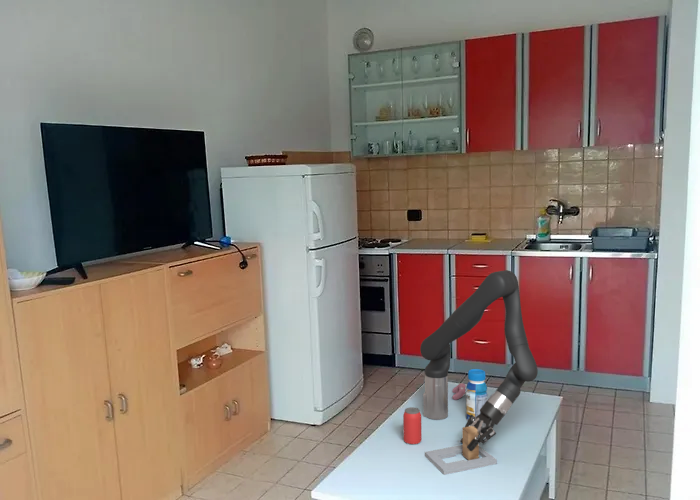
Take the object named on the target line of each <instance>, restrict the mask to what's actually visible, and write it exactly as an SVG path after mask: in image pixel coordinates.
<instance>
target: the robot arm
mask: <svg viewBox="0 0 700 500" xmlns="http://www.w3.org/2000/svg"><path fill="white" fill-rule="evenodd" d="M519 285H520V284H519V280H518V278H517V276H516V274H515V273H514V272H513V271H511V270H506V269H505V270H499V271H493V272H491V273H489V274H488V275H487V276H486V277H485V278H484V279H483V281H482V282H481V284H480V285H479V286H478V287H477V288H476V289H475V291H474V292H473V293H472V294H471V295H470V296H469V297H467V298H466V300H464V302H462V303H461V304H460V305H459V306H458V307H457V308H456V309H455V310H454V311H453V312H452V313H451V314H450V315H449V316H448V317H447V318H446V320H445V321H444V322H443V323H442V324H441V325H440V326H439V327H438V328H437V329H436V330H435V331H434V332H432V333H431V334H430V335H429V336H427V337H426V338H424V339H423V340H422V342H421V344H420V349H419V350H420V351H419V352H420V355H421V356H422V358H424V359H425V360H427V361H428V362H429V363H428V364H427V365H426V366H425V368H424V392H423V394H422V395H423V396H422V397H423V400H422V401H423V405H422V406H423V408H422V411H423V417H426V418H428V419H429V420H436V421H437V420H439V421H440V420H445V419H446V418H448V416H449V375H448V374H449V370H450V368H451V343H452V342H454V341H456V340H458V339H460V338H461V337H462V336H465V335H466V334H467V333H469V332H470V331H471V330H473V329H474V327H476V326H477V325H478V324H479V322H480V321H481V320H482V317H483V315H484V313H485V311H486V309H487V308H488V307H489V306H491V304H492V303H494V302H496V301H497V300H498V299H501V298H502V299H503V302H504V303H503V304H504V308H505V316H504V317H505V319H504V335H505V340H506V345H507V348H508V351H509V353H510V354H511V355H512V357H513V359H514V361H515V362H514V363H513V364H512V365H511V367H510V369H509V370H508V372H507V373H506V375H505V377H504V379H503V381H502V382H501V383H500V385H499V386H498V387H497V389H496V390H495V391H494V392H493V393H492V394H491V395H490V396H489V397H488V398H487V401H486V402H485V404H484V405H483V406H482V408H481V409H480V414H479V415H478V416H477V417H475V416H473V415H470V417H469V419H468V420H466V423H465V426H464V427H469V426H472V427H473V426H474V427H475V428H476V429H477V430H478V431H477V434H476V435H475V437H474V439H473V440H472V441H471V442H470V443H469V445H468V446H467V448H468V449H469V450H470V451H472V450H474V448H475V447H476V446H477V445H478V443H479V444H482V445H485V444H486V443H487V442H488V441H489V440H490V439H492V438H493V437H494V436H496V435H497V432H496V431H495V430H494V426H495V425H498V424H499V423H500V422H501V420H502V419H503V418H504V417H505V415H506V414H508V412H509V410H510V409H511V407H512V405H513V404H514V403H515V401H516V400H517V399H518V398H519V396H520V394H521V392H522V391H521V388H522V387H523V385H524V384H525V382H533V381H534V380H536V379H537V377H538V371H539V370H538V366H537V362H536V360H535V358H534V355H533V353H532V351H531V349H530V346H529V342H528V337H527V334H526V329H525V326H524V321H523V314H522V305H521V296H520V287H519ZM459 442H460V443H461V445H463V437H461V439H460V441H459Z"/></svg>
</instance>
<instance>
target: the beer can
mask: <svg viewBox="0 0 700 500" xmlns="http://www.w3.org/2000/svg"><path fill="white" fill-rule="evenodd" d="M402 417H403V419H402V421H403V430H402V431H403V441H404V442H405V443H406V444H408V445H418V444H420V443H421V442H422V414H421V410H420V409H419V408H418V407H414V406H413V407H412V406H410V407H406V408H405V409H404V412H403V416H402Z"/></svg>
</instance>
